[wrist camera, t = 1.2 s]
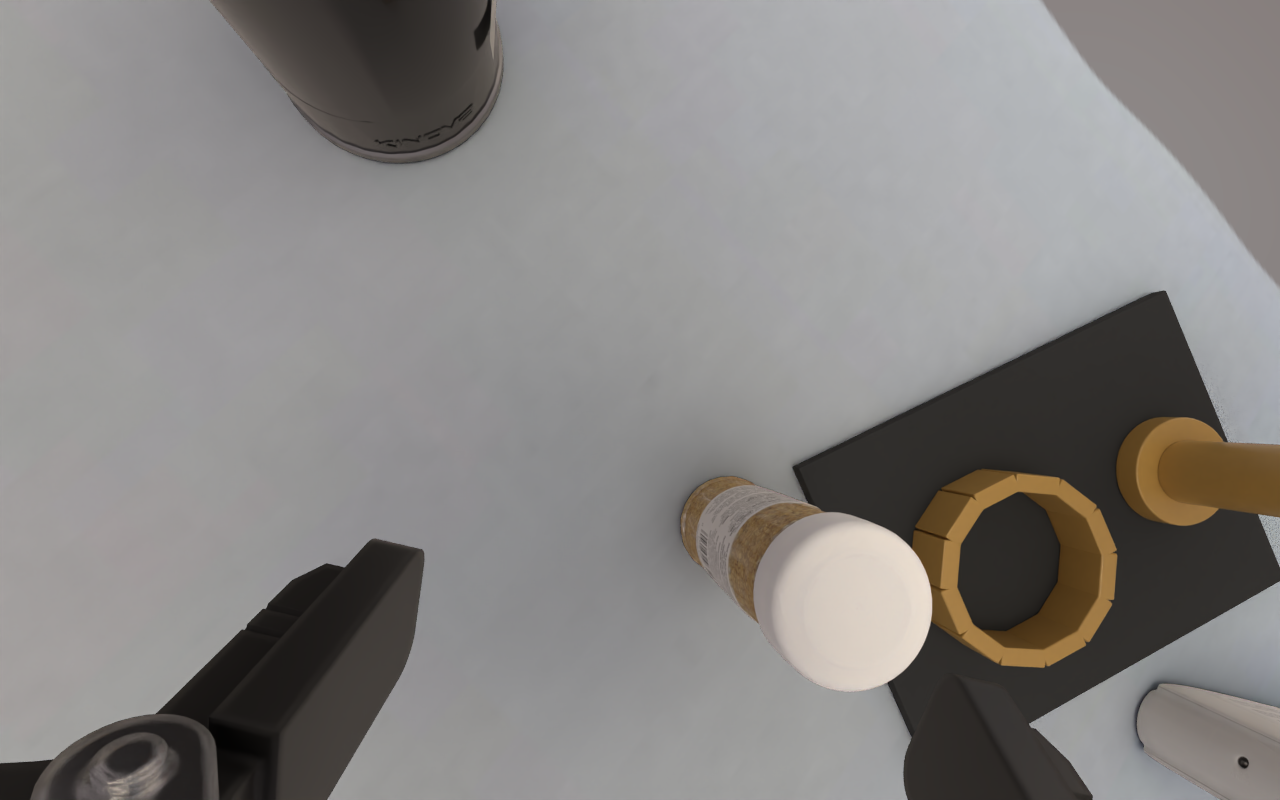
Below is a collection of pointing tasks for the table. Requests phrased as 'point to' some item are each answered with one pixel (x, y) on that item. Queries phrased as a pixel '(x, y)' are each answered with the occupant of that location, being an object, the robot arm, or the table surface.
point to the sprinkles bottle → (813, 581)
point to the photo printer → (1214, 740)
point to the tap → (1091, 529)
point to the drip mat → (1020, 528)
